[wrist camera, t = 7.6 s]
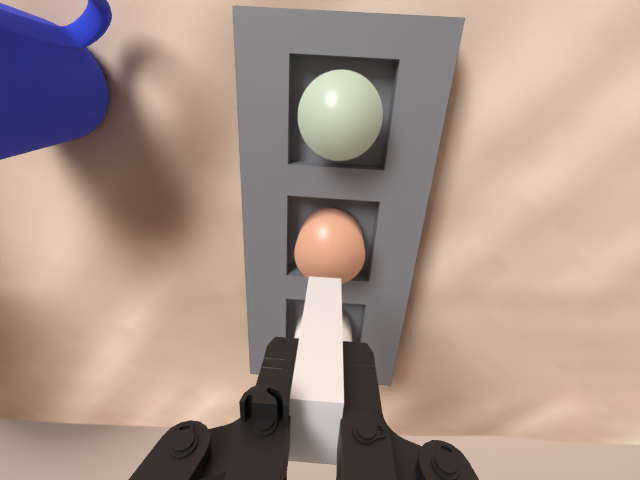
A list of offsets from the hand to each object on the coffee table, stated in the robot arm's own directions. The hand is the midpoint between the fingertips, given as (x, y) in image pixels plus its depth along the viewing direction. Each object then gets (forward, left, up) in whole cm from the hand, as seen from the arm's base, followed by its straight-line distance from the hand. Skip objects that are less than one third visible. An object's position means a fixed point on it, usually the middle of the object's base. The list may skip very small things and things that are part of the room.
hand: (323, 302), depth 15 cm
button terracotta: (0, 0, -8) cm, 8 cm away
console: (0, 0, -10) cm, 10 cm away
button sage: (0, +8, -8) cm, 11 cm away
